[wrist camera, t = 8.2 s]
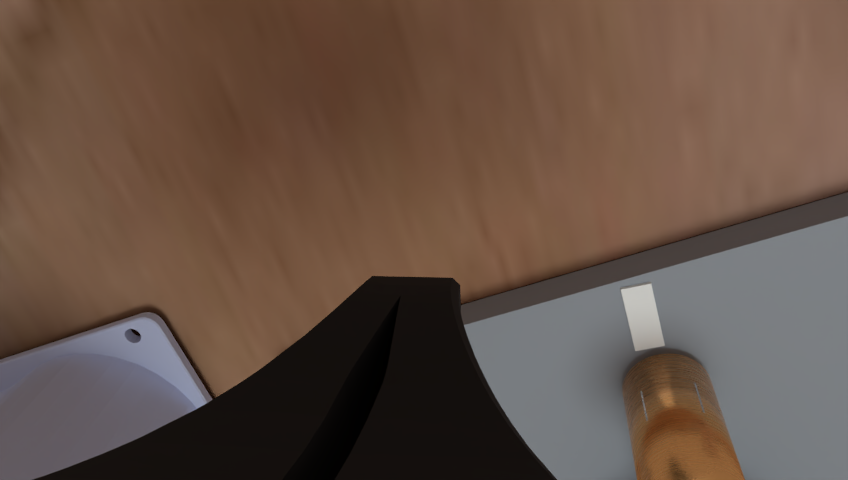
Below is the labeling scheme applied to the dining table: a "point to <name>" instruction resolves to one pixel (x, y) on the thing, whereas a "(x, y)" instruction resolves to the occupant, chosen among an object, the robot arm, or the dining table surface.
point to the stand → (685, 345)
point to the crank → (677, 422)
